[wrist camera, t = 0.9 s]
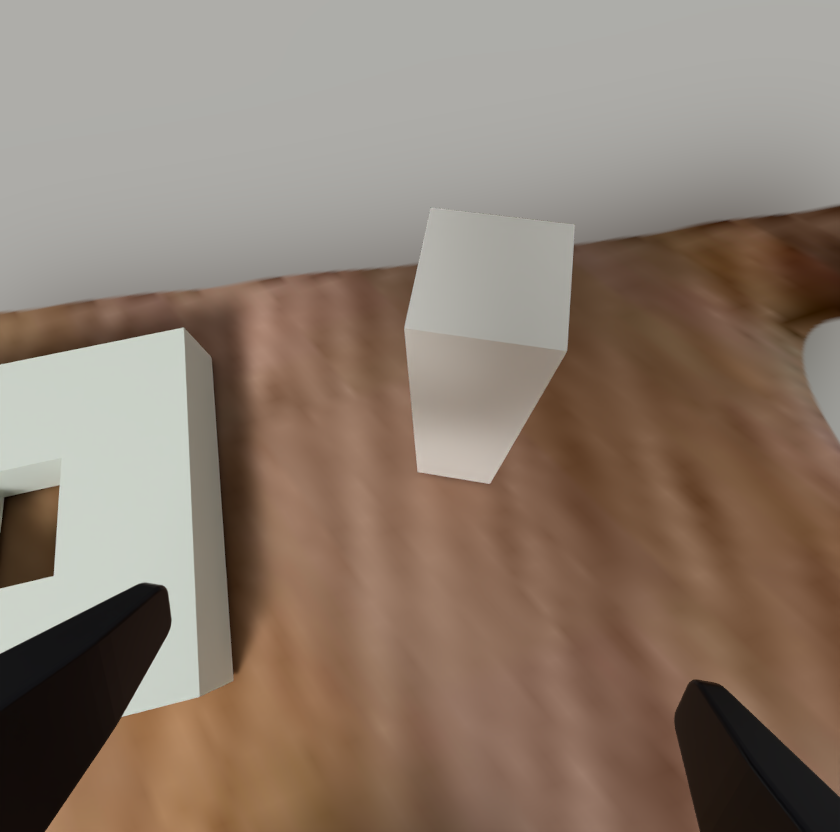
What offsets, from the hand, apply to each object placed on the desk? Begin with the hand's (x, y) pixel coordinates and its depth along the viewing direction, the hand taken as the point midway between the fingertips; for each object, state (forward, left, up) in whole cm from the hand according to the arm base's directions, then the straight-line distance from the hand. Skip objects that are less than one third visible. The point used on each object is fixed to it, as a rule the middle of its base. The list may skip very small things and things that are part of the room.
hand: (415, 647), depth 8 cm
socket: (+7, +17, -13) cm, 22 cm away
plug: (+7, -3, -13) cm, 15 cm away
